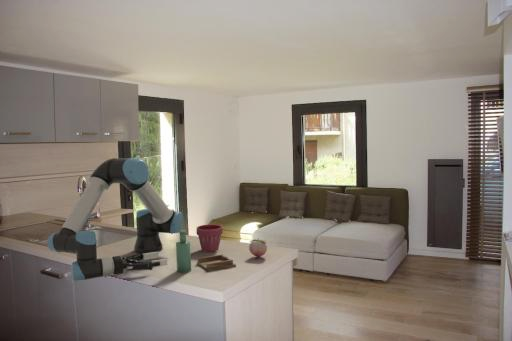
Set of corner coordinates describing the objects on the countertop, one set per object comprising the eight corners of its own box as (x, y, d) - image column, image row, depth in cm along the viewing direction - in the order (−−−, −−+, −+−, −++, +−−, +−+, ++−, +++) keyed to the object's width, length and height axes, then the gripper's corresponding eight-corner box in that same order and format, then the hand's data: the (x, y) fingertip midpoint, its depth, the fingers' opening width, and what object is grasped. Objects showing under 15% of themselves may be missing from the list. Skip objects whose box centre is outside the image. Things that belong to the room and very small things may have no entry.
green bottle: (175, 270, 186) (173, 230, 185) (188, 267, 189) (186, 229, 188) (179, 273, 180) (178, 233, 179) (193, 271, 184) (191, 231, 183)
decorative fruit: (269, 255, 208) (269, 236, 208) (265, 260, 200) (265, 240, 200) (251, 254, 211) (251, 235, 210) (247, 258, 203) (247, 239, 202)
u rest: (196, 263, 195) (196, 257, 195) (223, 259, 202) (223, 253, 202) (208, 271, 183) (208, 265, 183) (235, 266, 190) (235, 260, 190)
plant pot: (210, 254, 212) (209, 230, 211) (191, 250, 220) (191, 227, 219) (228, 249, 223) (227, 226, 222) (209, 245, 231) (209, 223, 231)
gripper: (107, 267, 180) (154, 259, 190) (118, 283, 158) (171, 273, 169) (106, 250, 179) (154, 244, 190) (118, 264, 158) (170, 256, 168)
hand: (162, 258), depth 179 cm, fingers open, 13 cm apart
